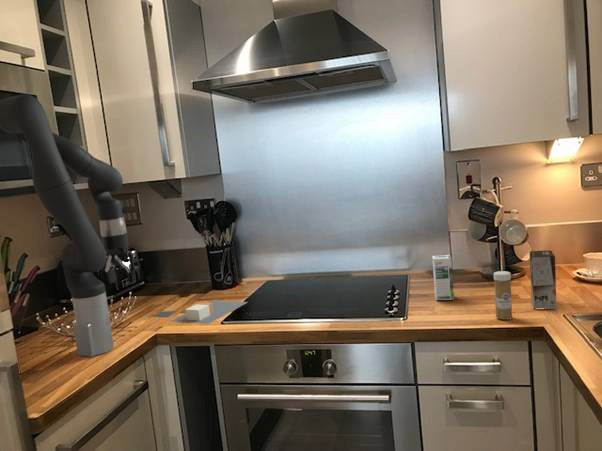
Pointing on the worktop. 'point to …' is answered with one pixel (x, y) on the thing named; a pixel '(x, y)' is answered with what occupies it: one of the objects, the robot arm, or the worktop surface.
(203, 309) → the card box
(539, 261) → the coffee box
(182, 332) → the worktop surface
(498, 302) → the sprinkles bottle
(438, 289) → the syrup box
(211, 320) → the mat
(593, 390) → the worktop surface
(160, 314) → the smartphone
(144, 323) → the worktop surface
